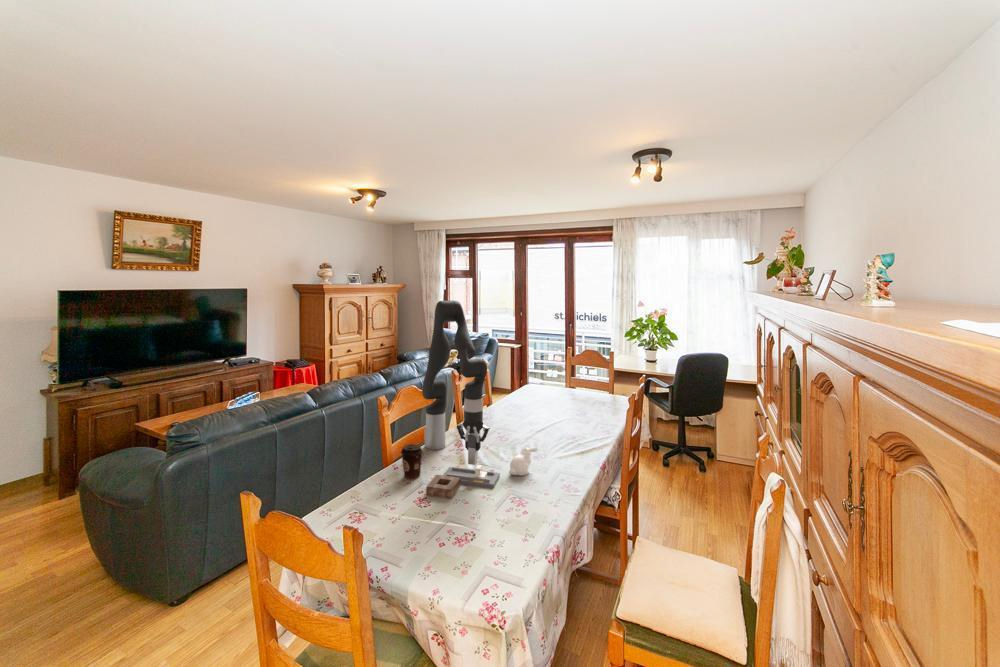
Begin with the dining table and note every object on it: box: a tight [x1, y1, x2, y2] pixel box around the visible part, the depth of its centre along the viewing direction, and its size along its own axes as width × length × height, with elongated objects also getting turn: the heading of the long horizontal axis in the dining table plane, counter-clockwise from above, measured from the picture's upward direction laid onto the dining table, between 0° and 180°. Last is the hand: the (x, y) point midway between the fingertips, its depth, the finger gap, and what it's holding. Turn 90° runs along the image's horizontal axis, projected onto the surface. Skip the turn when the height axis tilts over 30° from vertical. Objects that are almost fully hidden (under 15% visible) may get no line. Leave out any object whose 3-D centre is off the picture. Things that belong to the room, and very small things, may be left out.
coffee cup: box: [400, 443, 424, 481], centre depth 176 cm, size 9×8×13 cm
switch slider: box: [474, 464, 487, 478], centre depth 174 cm, size 4×5×4 cm
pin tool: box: [467, 433, 478, 466], centre depth 173 cm, size 3×3×12 cm
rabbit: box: [508, 446, 538, 477], centre depth 181 cm, size 12×9×12 cm
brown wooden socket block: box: [425, 474, 461, 500], centre depth 165 cm, size 10×10×4 cm
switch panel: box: [442, 466, 501, 489], centre depth 175 cm, size 22×10×3 cm, turn 76°
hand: (472, 449), depth 173 cm, fingers closed on pin tool, 3 cm apart
